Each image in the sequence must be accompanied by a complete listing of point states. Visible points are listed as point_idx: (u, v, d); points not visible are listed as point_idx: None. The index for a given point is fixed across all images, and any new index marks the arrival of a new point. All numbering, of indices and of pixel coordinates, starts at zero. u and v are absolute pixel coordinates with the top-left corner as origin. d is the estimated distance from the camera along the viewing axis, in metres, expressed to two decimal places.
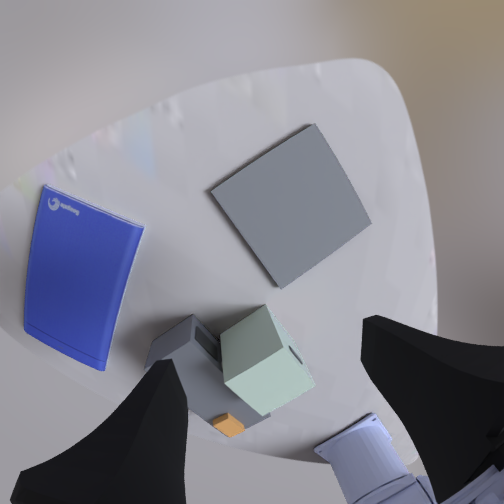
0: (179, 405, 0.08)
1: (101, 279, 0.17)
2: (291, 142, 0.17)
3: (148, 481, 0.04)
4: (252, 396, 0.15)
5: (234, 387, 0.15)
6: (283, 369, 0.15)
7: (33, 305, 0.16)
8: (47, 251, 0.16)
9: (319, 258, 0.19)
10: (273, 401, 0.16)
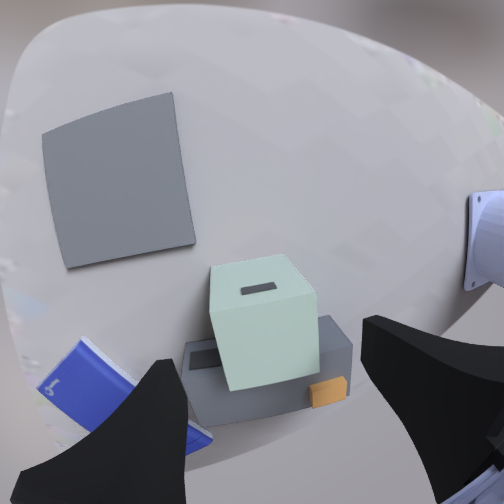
0: (179, 405, 0.08)
1: (115, 397, 0.16)
2: (48, 167, 0.12)
3: (148, 481, 0.04)
4: (273, 372, 0.11)
5: (244, 384, 0.11)
6: (250, 326, 0.10)
7: None
8: (83, 417, 0.16)
9: (179, 179, 0.13)
10: (302, 353, 0.11)
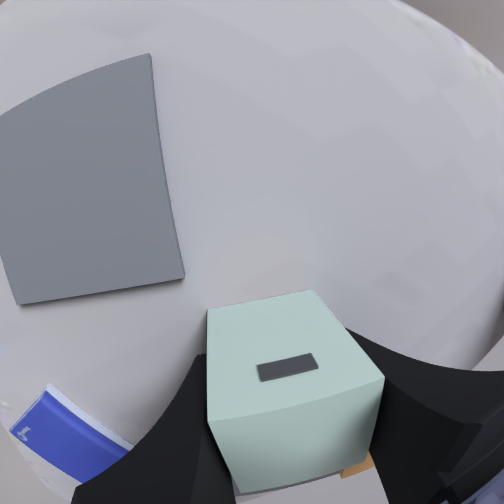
0: None
1: (94, 452, 0.11)
2: None
3: (214, 479, 0.04)
4: (304, 473, 0.06)
5: (261, 486, 0.06)
6: (276, 433, 0.05)
7: None
8: (63, 465, 0.11)
9: (157, 181, 0.09)
10: (347, 449, 0.06)
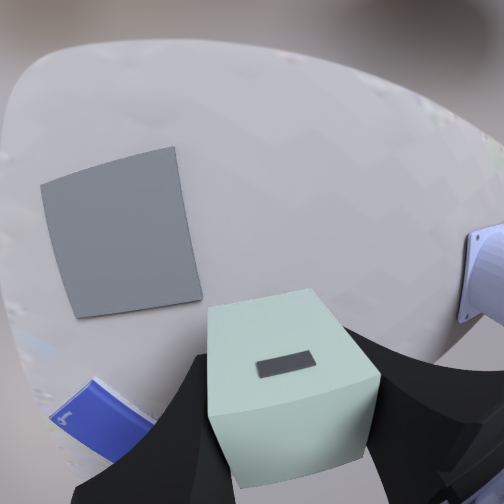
0: None
1: (126, 427, 0.16)
2: (50, 220, 0.13)
3: (213, 479, 0.04)
4: (302, 468, 0.06)
5: (260, 482, 0.06)
6: (274, 428, 0.06)
7: None
8: (95, 443, 0.16)
9: (184, 239, 0.14)
10: (345, 445, 0.06)
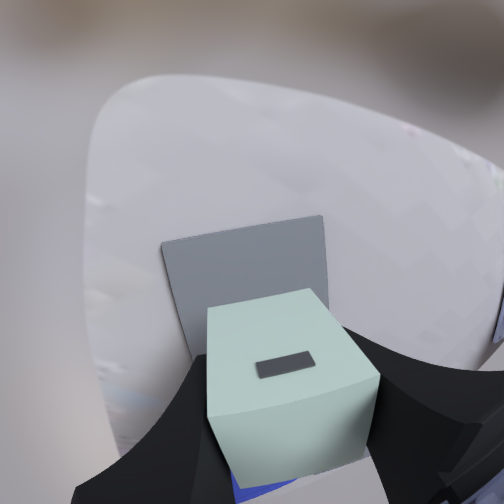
0: None
1: None
2: (175, 284, 0.14)
3: (214, 479, 0.04)
4: (302, 468, 0.06)
5: (260, 482, 0.06)
6: (273, 429, 0.06)
7: None
8: None
9: (324, 301, 0.15)
10: (345, 445, 0.06)
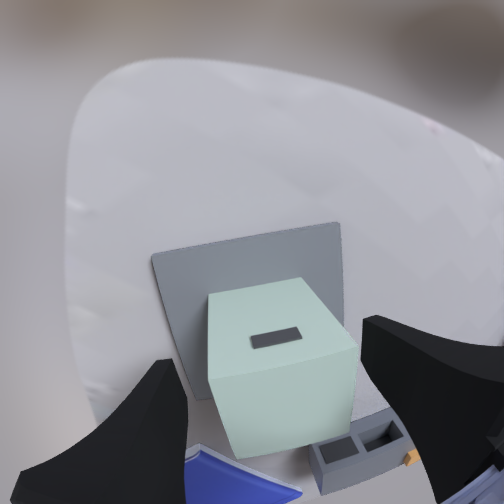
0: (179, 405, 0.08)
1: (227, 483, 0.15)
2: (169, 302, 0.12)
3: (148, 481, 0.04)
4: (293, 439, 0.08)
5: (254, 452, 0.08)
6: (265, 393, 0.07)
7: None
8: None
9: (339, 319, 0.13)
10: (331, 416, 0.08)
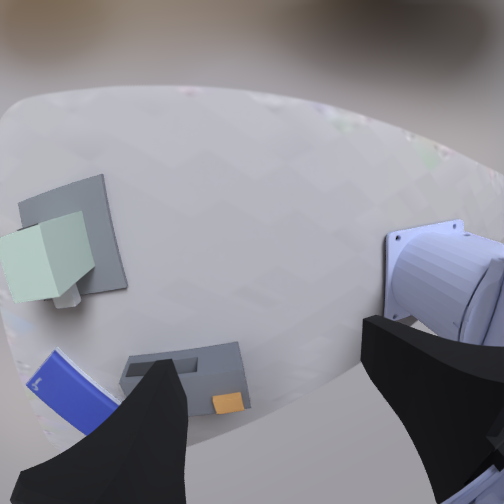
0: (179, 405, 0.08)
1: (80, 392, 0.20)
2: None
3: (148, 481, 0.04)
4: (31, 290, 0.12)
5: (19, 298, 0.12)
6: (12, 249, 0.11)
7: None
8: (60, 407, 0.20)
9: (111, 242, 0.17)
10: (42, 275, 0.12)
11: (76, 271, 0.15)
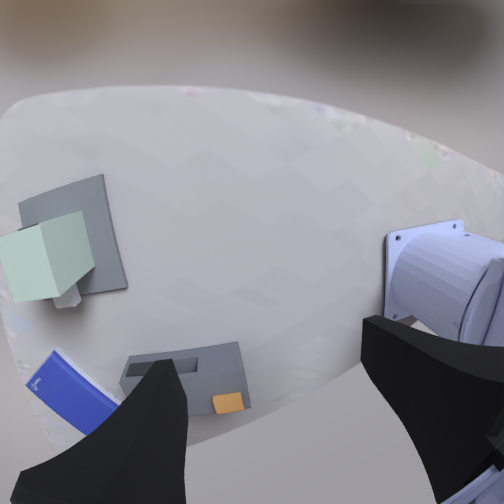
0: (179, 405, 0.08)
1: (80, 392, 0.20)
2: None
3: (148, 481, 0.04)
4: (31, 290, 0.12)
5: (19, 298, 0.12)
6: (12, 249, 0.11)
7: None
8: (60, 407, 0.20)
9: (111, 242, 0.18)
10: (43, 275, 0.12)
11: (76, 271, 0.15)
